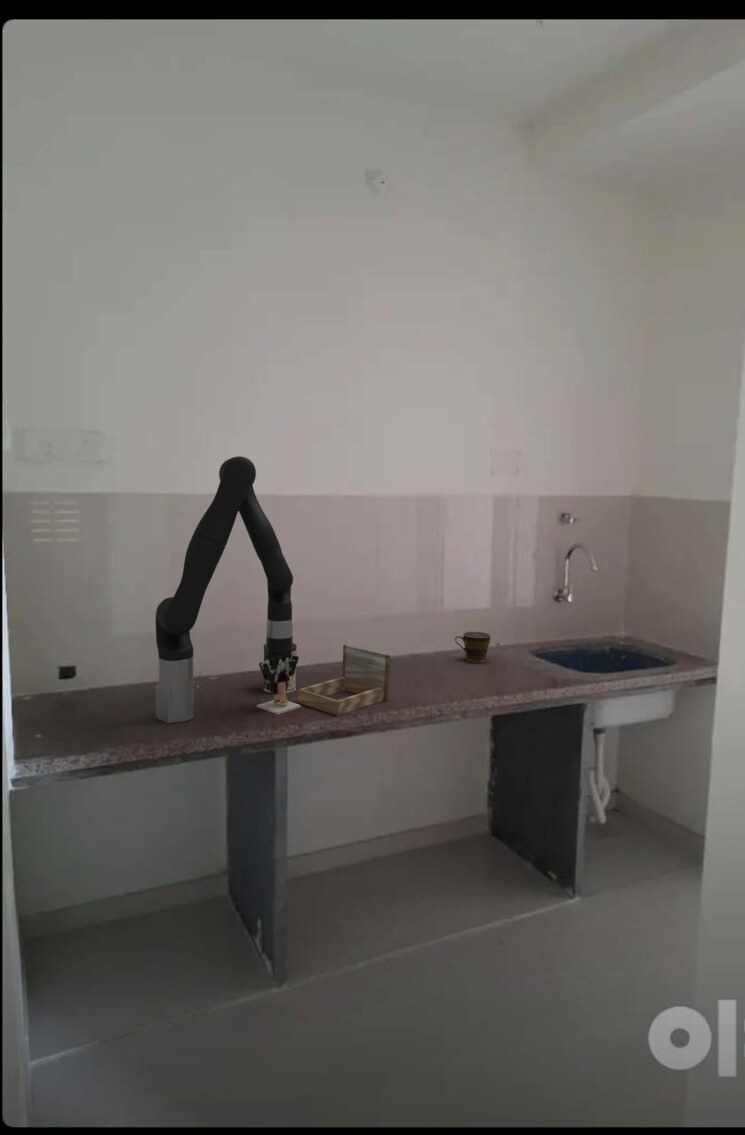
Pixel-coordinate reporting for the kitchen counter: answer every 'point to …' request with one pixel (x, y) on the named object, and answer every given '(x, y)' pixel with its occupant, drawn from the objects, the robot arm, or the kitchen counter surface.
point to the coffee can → (267, 685)
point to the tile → (278, 707)
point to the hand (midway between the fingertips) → (279, 692)
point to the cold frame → (352, 683)
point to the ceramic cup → (475, 646)
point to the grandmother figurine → (282, 686)
